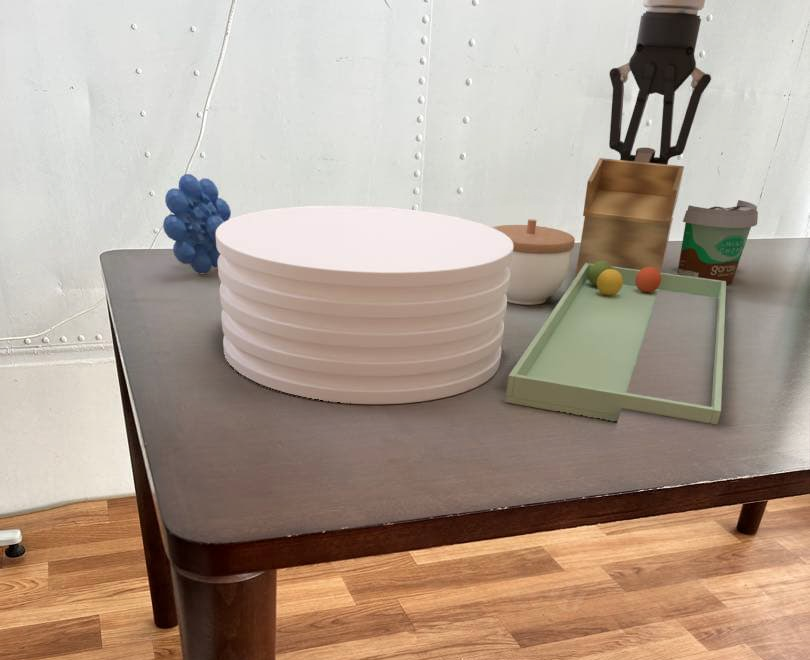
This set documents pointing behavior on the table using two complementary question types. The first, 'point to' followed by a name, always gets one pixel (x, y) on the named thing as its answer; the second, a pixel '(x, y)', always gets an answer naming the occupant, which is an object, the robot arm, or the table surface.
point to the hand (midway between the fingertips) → (635, 206)
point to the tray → (606, 351)
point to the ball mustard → (609, 282)
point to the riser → (623, 243)
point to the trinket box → (536, 261)
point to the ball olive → (597, 271)
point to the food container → (715, 240)
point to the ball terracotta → (648, 279)
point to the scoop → (633, 189)
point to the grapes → (195, 221)
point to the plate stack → (363, 302)
